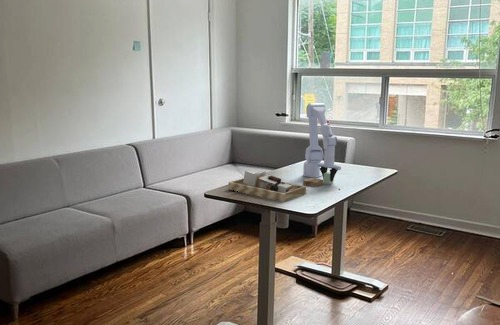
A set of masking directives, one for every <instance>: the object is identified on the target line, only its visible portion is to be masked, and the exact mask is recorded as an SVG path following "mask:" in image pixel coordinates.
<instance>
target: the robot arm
mask: <svg viewBox="0 0 500 325" xmlns="http://www.w3.org/2000/svg"><path fill="white" fill-rule="evenodd" d="M305 108H306V109H305V110H306V118H308V132H309V136H308V137H309V146H308V147H306V149H305V155H304V159H305V161H304V162H303V172H302V173H303V174H302V176H303V177H307V178H315V179H318V178H319V177H322V179H323V178H324V173H326V172H328V170H329V172H330V181H331V182H332V181H333V182H334V179H335V176H336V174H337V172H338V171H341V170H342V166H341V165H338V164H335V156H336V155H335V154H336V153H335V152H336V149H335V148H336V146H337V145H338V138H337V135H335V134H334V133H333V131H332V128H331V125H330V124H328V123H327V118H326V105H325V103H324V102H317V103H315V102H314V103H311V102H309V103H308V104H307V105H306V107H305ZM318 122H319V124H320V133H321V135H322V137H323V139H322V144H323V148H322V147H321V146H320V145H319V132H318V131H319V130H318V129H319V128H318ZM323 150H324V152H323ZM322 161H323V162H322ZM320 173H321V174H320Z"/></svg>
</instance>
